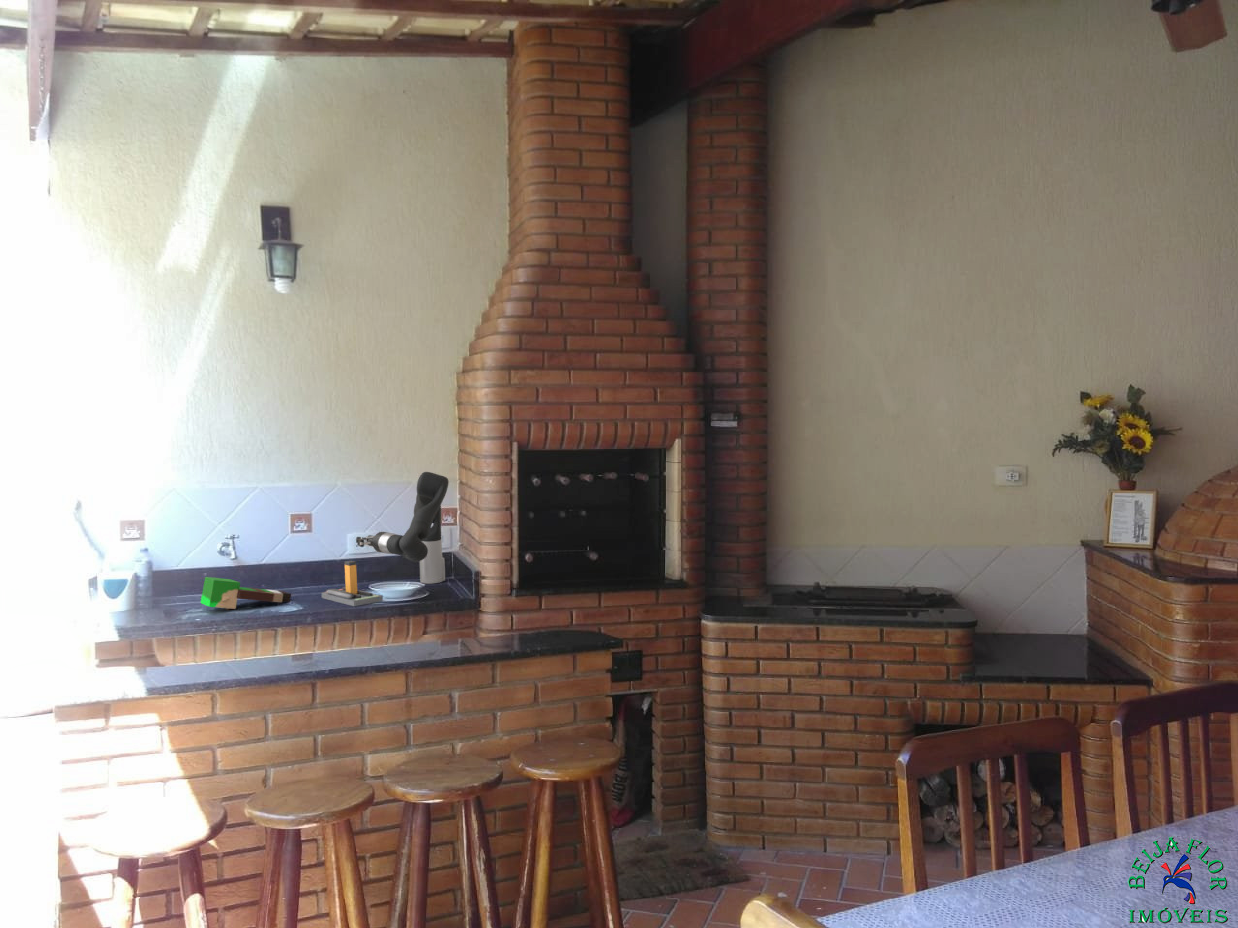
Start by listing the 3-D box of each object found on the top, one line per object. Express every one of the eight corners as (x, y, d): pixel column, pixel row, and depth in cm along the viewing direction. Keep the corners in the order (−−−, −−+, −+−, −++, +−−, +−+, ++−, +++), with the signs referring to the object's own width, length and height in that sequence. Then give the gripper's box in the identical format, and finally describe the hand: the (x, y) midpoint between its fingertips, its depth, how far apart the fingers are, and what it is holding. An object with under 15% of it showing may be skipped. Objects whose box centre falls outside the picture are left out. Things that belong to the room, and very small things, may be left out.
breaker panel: (349, 593, 415) (349, 583, 415) (382, 601, 398) (382, 591, 398) (321, 597, 407) (321, 588, 407) (354, 606, 390) (353, 596, 389)
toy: (276, 611, 409) (197, 605, 391) (281, 583, 410) (202, 575, 391) (291, 617, 398) (210, 611, 379) (296, 588, 399) (216, 581, 380)
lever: (352, 592, 404) (351, 560, 404) (357, 593, 402) (355, 561, 401) (345, 593, 403) (344, 561, 402) (350, 594, 400) (349, 562, 399)
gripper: (404, 530, 386) (379, 526, 398) (370, 535, 376) (345, 531, 388) (405, 550, 386) (380, 546, 398) (371, 556, 376) (346, 551, 389)
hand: (363, 538), depth 393 cm, fingers open, 4 cm apart
